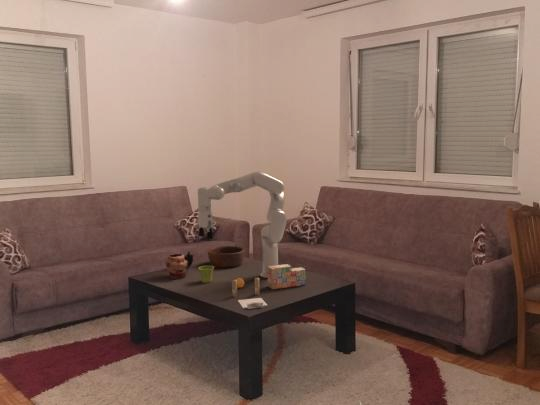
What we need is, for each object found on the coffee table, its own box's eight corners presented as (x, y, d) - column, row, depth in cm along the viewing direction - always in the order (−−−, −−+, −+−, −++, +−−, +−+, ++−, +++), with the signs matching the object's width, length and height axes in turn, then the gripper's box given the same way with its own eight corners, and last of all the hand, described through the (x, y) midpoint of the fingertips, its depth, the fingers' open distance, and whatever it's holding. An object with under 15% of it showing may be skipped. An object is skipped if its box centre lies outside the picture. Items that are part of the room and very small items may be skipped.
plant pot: (211, 284, 327) (211, 269, 326) (196, 283, 329) (196, 269, 328) (216, 279, 336) (216, 265, 335) (201, 279, 338) (201, 265, 337)
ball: (243, 285, 322) (243, 276, 321) (245, 288, 317) (245, 278, 316) (233, 286, 320) (233, 277, 320) (235, 289, 315) (235, 279, 314)
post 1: (236, 295, 303) (236, 279, 302) (237, 297, 301) (237, 280, 299) (231, 296, 302) (231, 280, 301) (232, 297, 300) (232, 281, 299)
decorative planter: (159, 275, 349) (158, 253, 347) (176, 271, 357) (175, 250, 355) (176, 281, 334) (175, 258, 332) (193, 277, 341) (192, 255, 340)
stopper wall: (262, 306, 284) (262, 301, 284) (263, 307, 283) (263, 302, 282) (247, 308, 282) (247, 303, 281) (248, 308, 280) (247, 304, 280)
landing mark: (261, 298, 298) (261, 297, 298) (267, 305, 285) (267, 305, 285) (237, 300, 294) (237, 300, 294) (243, 308, 282) (243, 307, 282)
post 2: (258, 293, 307) (258, 277, 305) (260, 294, 304) (259, 278, 303) (254, 293, 306) (254, 278, 305) (255, 295, 303) (255, 279, 302)
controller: (194, 266, 369) (194, 252, 368) (179, 270, 361) (178, 255, 359) (190, 265, 372) (190, 251, 371) (175, 268, 364) (174, 254, 362)
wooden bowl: (250, 261, 381) (250, 247, 380) (235, 270, 358) (235, 254, 357) (218, 259, 390) (217, 244, 389) (201, 267, 367) (200, 252, 365)
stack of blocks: (301, 282, 328) (301, 262, 326) (306, 285, 322) (305, 264, 321) (267, 286, 320) (267, 266, 318) (272, 289, 314) (271, 268, 313)
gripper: (218, 209, 320) (218, 238, 322) (202, 206, 333) (203, 234, 336) (206, 210, 315) (207, 240, 317) (191, 207, 329) (192, 236, 331)
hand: (205, 237), depth 326 cm, fingers open, 9 cm apart
